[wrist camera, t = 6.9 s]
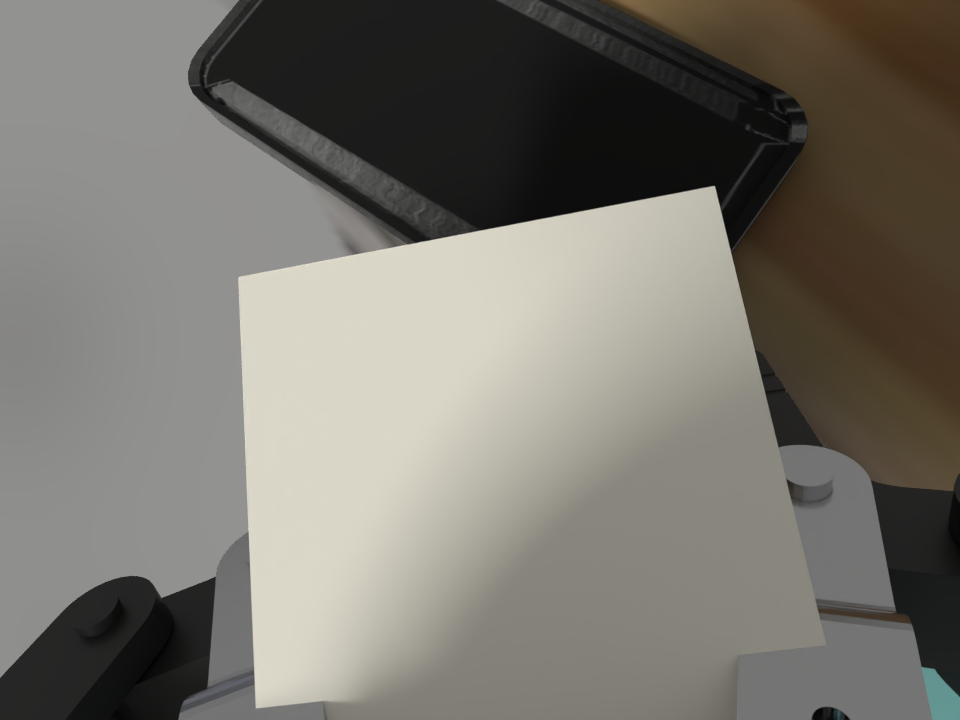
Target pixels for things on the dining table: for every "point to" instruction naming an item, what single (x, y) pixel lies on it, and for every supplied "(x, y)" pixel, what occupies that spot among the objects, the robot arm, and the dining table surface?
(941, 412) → the dining table surface
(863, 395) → the dining table surface
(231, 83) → the phone
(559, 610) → the walnut block
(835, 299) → the dining table surface
